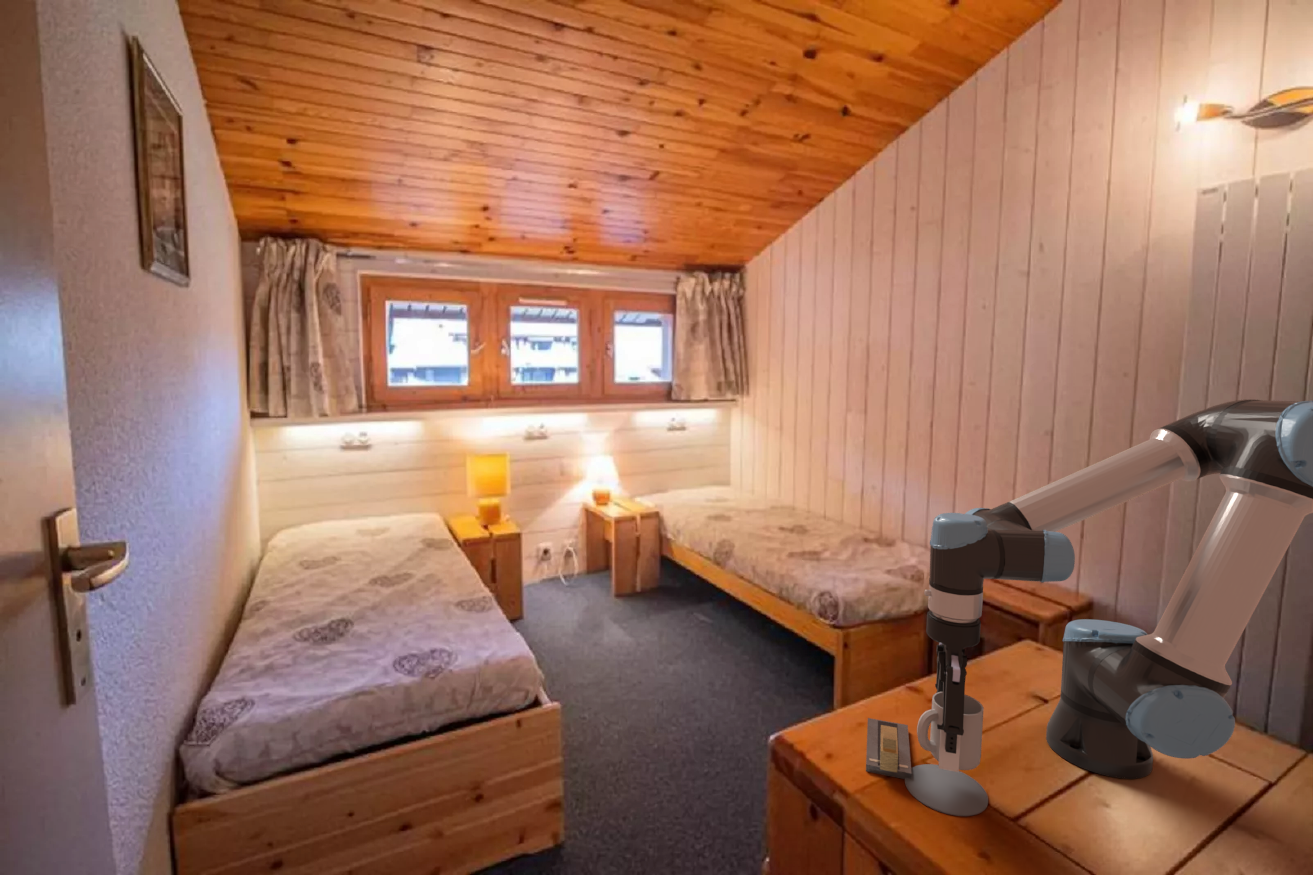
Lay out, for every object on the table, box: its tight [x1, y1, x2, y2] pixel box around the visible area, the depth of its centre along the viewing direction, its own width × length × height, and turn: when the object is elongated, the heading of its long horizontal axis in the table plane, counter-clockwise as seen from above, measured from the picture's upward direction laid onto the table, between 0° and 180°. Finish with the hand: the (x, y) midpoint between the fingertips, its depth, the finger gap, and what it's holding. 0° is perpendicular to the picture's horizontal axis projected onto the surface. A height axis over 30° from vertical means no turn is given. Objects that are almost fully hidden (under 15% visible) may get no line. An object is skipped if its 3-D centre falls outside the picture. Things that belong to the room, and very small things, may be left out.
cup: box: [916, 692, 985, 771], centre depth 96 cm, size 7×10×9 cm
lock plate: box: [865, 717, 912, 780], centre depth 108 cm, size 7×15×1 cm, turn 160°
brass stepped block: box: [880, 725, 898, 773], centre depth 103 cm, size 3×8×5 cm, turn 160°
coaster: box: [904, 763, 989, 817], centre depth 98 cm, size 12×12×1 cm
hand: (945, 753), depth 97 cm, fingers closed on cup, 7 cm apart
